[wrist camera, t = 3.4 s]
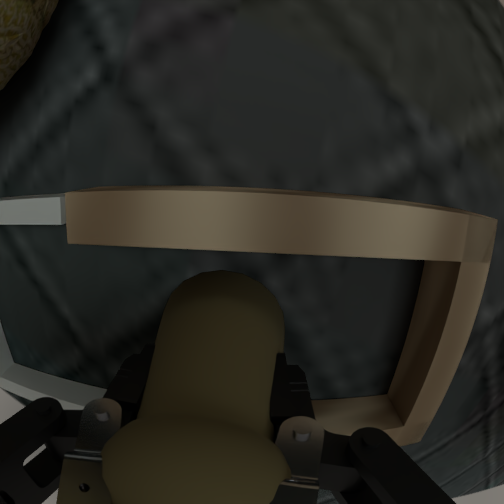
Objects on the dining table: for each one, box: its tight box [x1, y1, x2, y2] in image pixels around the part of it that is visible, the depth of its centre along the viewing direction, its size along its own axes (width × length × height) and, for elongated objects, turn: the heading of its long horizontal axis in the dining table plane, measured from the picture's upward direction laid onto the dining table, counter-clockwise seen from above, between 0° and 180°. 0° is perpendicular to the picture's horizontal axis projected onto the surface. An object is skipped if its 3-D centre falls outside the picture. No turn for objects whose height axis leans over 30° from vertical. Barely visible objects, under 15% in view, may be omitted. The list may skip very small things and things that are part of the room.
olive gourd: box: [101, 270, 291, 504], centre depth 9 cm, size 6×6×11 cm
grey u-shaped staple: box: [0, 193, 107, 410], centre depth 13 cm, size 10×13×2 cm
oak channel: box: [65, 186, 498, 446], centre depth 13 cm, size 18×14×3 cm
